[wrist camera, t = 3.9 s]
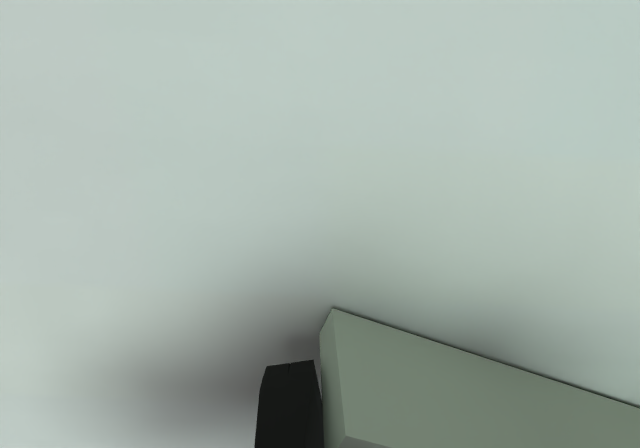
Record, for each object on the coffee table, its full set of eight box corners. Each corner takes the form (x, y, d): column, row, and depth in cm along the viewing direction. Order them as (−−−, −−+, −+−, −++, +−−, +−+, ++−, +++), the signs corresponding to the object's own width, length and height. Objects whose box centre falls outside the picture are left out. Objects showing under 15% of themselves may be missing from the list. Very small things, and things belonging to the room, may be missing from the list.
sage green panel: (725, 436, 13) (891, 578, 9) (704, 453, 13) (857, 597, 10) (331, 308, 10) (345, 435, 7) (319, 334, 11) (325, 469, 7)
